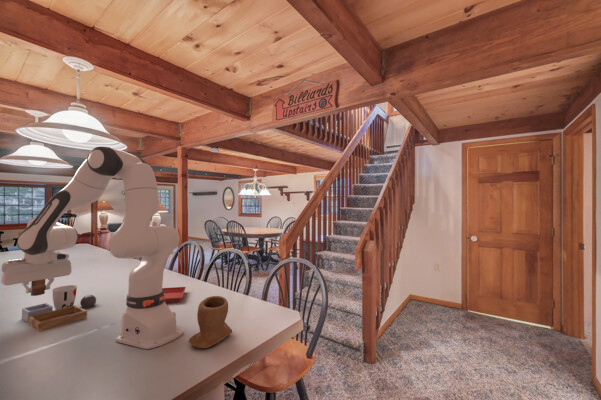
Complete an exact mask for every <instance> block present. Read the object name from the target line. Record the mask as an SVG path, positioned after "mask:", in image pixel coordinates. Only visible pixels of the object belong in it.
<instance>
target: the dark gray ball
mask: <svg viewBox="0 0 601 400" xmlns="http://www.w3.org/2000/svg"><path fill="white" fill-rule="evenodd" d="M79 303H80V305H79V306H81V308H82V309H85V308H87V309H88V308H91V307H94V305H95V304H96V303H97V298H96V296H95V295H93V294H88V295H87V294H86V295H85V296H83V297H82V298H81V299H80V302H79Z"/></svg>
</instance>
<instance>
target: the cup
mask: <svg viewBox="0 0 601 400" xmlns="http://www.w3.org/2000/svg"><path fill="white" fill-rule="evenodd" d="M77 288H78V286H77V285H74V284H70V285H61V286H57V287H54V288H52V291H51V292H52V300H53V301H52V302H53V308H54V310H58V309H62V308H66V307H70V306H74V305H75V300H76V298H77V290H78V289H77Z"/></svg>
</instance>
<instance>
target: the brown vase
mask: <svg viewBox="0 0 601 400" xmlns="http://www.w3.org/2000/svg"><path fill="white" fill-rule="evenodd" d="M197 307H198V308H197V315H196V317H197V318H196V319H197V324H198V328H199V331H198V332H197V333H195V334H194V335H192V336H191V337H190V338H189V339H188V343H189V344H190V345H191V346H193V347H195V348H199V349H208V348H211V347H213V346H215V345H217V344H218V343H219V342H220V341H222V340H224V339H225V338H227V337H228V336H230V335H231V334H232V333H233V330H232V328H231V327H230V326H229V325H228V324H227V322H226V318H227V316H228V314H229V302H228V300H227V299H226V297H223V296H222V295H221V296H220V295H212V296H207V297H206V298H204V299H203V300H201V301H200V303H199V304H198V306H197Z"/></svg>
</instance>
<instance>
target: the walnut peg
mask: <svg viewBox="0 0 601 400" xmlns="http://www.w3.org/2000/svg"><path fill="white" fill-rule="evenodd" d="M30 283H31V286H30V288H32V293H30V296H32V297H34V296H35V297H36V296H41V295H44V294H45V293H46V290H45V285H46V279H43V280H37V281H31V282H30Z"/></svg>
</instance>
